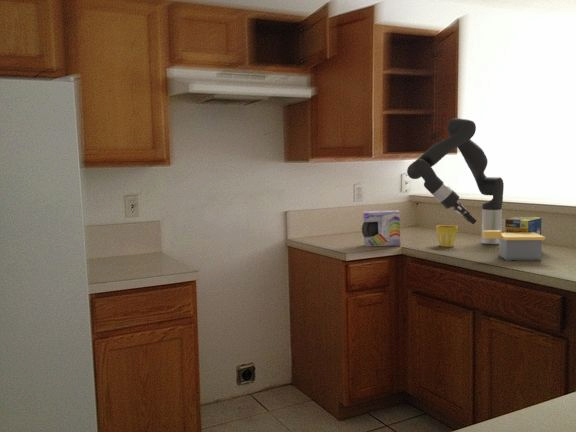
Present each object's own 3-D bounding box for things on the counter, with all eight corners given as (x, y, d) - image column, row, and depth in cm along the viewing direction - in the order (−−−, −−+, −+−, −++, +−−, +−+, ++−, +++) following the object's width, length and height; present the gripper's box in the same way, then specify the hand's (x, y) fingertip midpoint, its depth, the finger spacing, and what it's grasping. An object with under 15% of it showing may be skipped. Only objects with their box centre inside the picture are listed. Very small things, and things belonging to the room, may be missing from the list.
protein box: (504, 253, 250) (504, 219, 248) (518, 248, 261) (519, 215, 259) (527, 255, 243) (528, 220, 241) (541, 250, 253) (542, 217, 252)
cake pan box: (362, 246, 278) (361, 211, 276) (362, 244, 283) (361, 210, 281) (400, 246, 275) (400, 211, 273) (400, 244, 280) (400, 210, 278)
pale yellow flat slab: (479, 235, 244) (480, 228, 244) (534, 235, 242) (534, 228, 241) (487, 240, 231) (487, 233, 230) (545, 239, 228) (545, 232, 227)
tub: (498, 255, 243) (499, 235, 242) (532, 255, 242) (532, 235, 241) (506, 261, 232) (506, 239, 231) (541, 260, 230) (541, 239, 229)
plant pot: (457, 244, 277) (457, 225, 276) (458, 247, 267) (458, 227, 266) (436, 243, 280) (436, 224, 279) (435, 247, 270) (435, 227, 269)
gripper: (454, 190, 230) (482, 217, 230) (449, 188, 244) (475, 213, 244) (441, 203, 231) (469, 230, 231) (436, 200, 245) (463, 225, 245)
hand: (472, 221), depth 237 cm, fingers open, 8 cm apart
